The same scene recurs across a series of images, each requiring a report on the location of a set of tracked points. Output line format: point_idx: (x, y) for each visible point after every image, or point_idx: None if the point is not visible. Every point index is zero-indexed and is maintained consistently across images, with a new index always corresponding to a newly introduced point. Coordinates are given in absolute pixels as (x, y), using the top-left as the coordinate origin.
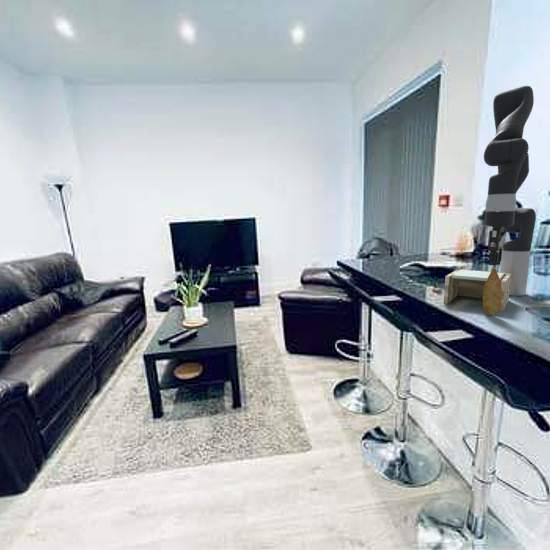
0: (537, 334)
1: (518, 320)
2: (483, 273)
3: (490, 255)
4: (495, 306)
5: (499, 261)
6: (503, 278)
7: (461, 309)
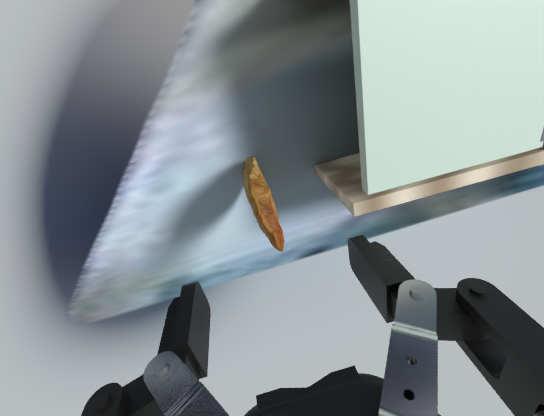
0: (183, 284)
1: (259, 228)
2: (496, 81)
3: (160, 344)
4: (247, 196)
5: (351, 264)
6: (425, 184)
7: (252, 77)
